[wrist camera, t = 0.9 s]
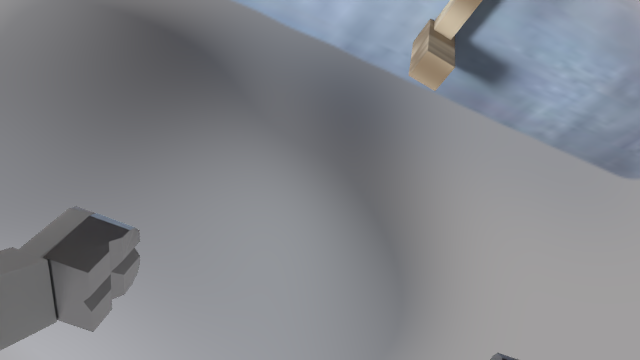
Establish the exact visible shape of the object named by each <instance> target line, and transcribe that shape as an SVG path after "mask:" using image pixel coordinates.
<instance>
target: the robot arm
mask: <svg viewBox="0 0 640 360" xmlns="http://www.w3.org/2000/svg"><path fill="white" fill-rule="evenodd" d="M139 242H140V233H139V230H138V229H136V228H135V227H132V226H129V225H127V224H124V223H122V222H119V221H116V220H113V219H111V218H108V217H106V216H103V215H100V214H97V213H94V212H91V211H88V210H86V209H83V208H80V207H78V206H75V207H72V208H69V209H67V210H66V211H65V212H64V213H62V214H61V215H60V216H59V217H58V218H56V219H55V220H54V221H53V222H51V223H50V224H49V225H48V226H47V227H45V228H44V229H43V230H42V231H40V232H39V233H38V234H37V235H36V236H34V237H33V238H32V239H31V240H29V241H28V242H27V243H26V244H24V245H23V246H22V247H21V248H20V249H16V248H13V247H12V248H8V249H5V250H2V251H0V350H2V349H4V348H6V347H8V346H10V345H12V344H14V343H16V342H18V341H20V340H22V339H24V338H26V337H28V336H29V335H32V334H34V333H36V332H38V331H40V330H42V329H43V328H46V327H48V326H50V325H51V324H54V323H55V322H56V321H57V320H59V321H63V322H65V323H68V324H71V325H74V326H77V327H80V328H83V329H86V330H89V331H92V332H93V331H94V330H95V329H96V328H97V327H98V326H99V324H100V323H101V322H102V321H103V319H104V318H105V317H106V316H107V315H108V313H109V312H110V311H111V310H112V299H114V298H117V297H119V296H122V295H124V294H125V293H126V291H127V290H128V289H129V288H130V286H131V285H132V283H133V281H134V279H135V277H136V275H137V273H138V269H139V265H140V255H139V254H138V252H137V251H136V249H135V248H134V247H135V246H136V245H137V244H138V243H139ZM490 360H518V359H515V358H512V357H509V356H506V355H503V354H500V353H497V354H495V355H494V356H493V357H492V358H491V359H490Z"/></svg>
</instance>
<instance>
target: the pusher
mask: <svg viewBox="0 0 640 360" xmlns="http://www.w3.org/2000/svg"><path fill="white" fill-rule="evenodd" d="M481 2H482V0H450V1H449V3H448V4H447V5H446V7H445V8H444V9H443V11H442V12H441V13H440V15H439V16H438V17H437V19H436V20H435V21H433V20H432V19H430V20H429V21H428V23H427V24H426V26H425V27H424V28H423V30H422V31H421V32H420V34H419V35H418V36H417V38H416V39H415V41H414V42H413V48H412V56H411V63H410V70H409V76H411V77H412V78H414V79H416V80H417V81H419V82H421V83H422V84H424V85H426V86H427V87H429V88H431V89H433V90H434V91H436V89H437V88H438V87H439V86H440V85H441V83H442V82H443V81H444V80H445V79H446V78H447V76H448V75H449V74H450V73H451V72H452V70H453V69H454V68H455V34H456V33H457V32H458V31H459V29H460V28H461V27H462V25H463V24H464V23H465V22H466V20H467V19H468V18H469V17H470V15H471V14H472V13H473V12H474V10H475V9H476V8H477V7H478V5H479V4H480V3H481Z"/></svg>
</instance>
